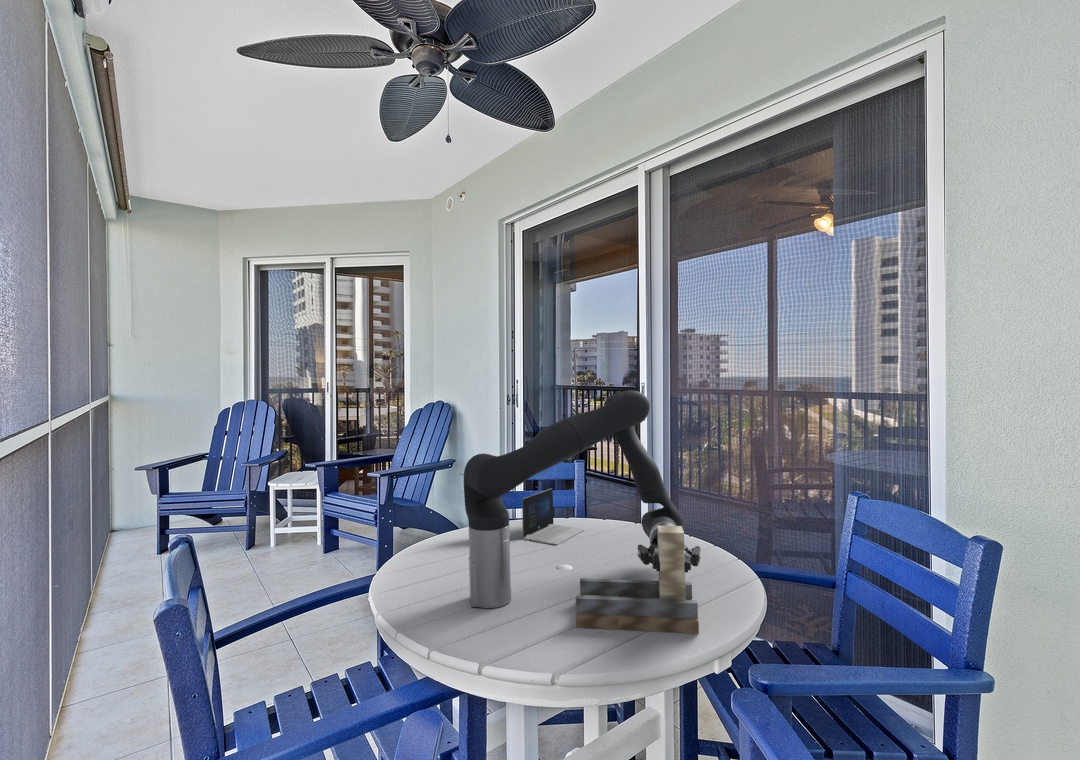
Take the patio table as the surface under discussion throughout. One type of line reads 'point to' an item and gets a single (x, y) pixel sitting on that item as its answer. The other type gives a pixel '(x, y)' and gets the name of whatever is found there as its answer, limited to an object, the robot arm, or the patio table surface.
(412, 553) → the patio table surface
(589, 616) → the channel deck
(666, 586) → the tall block
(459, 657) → the patio table surface
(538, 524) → the laptop
